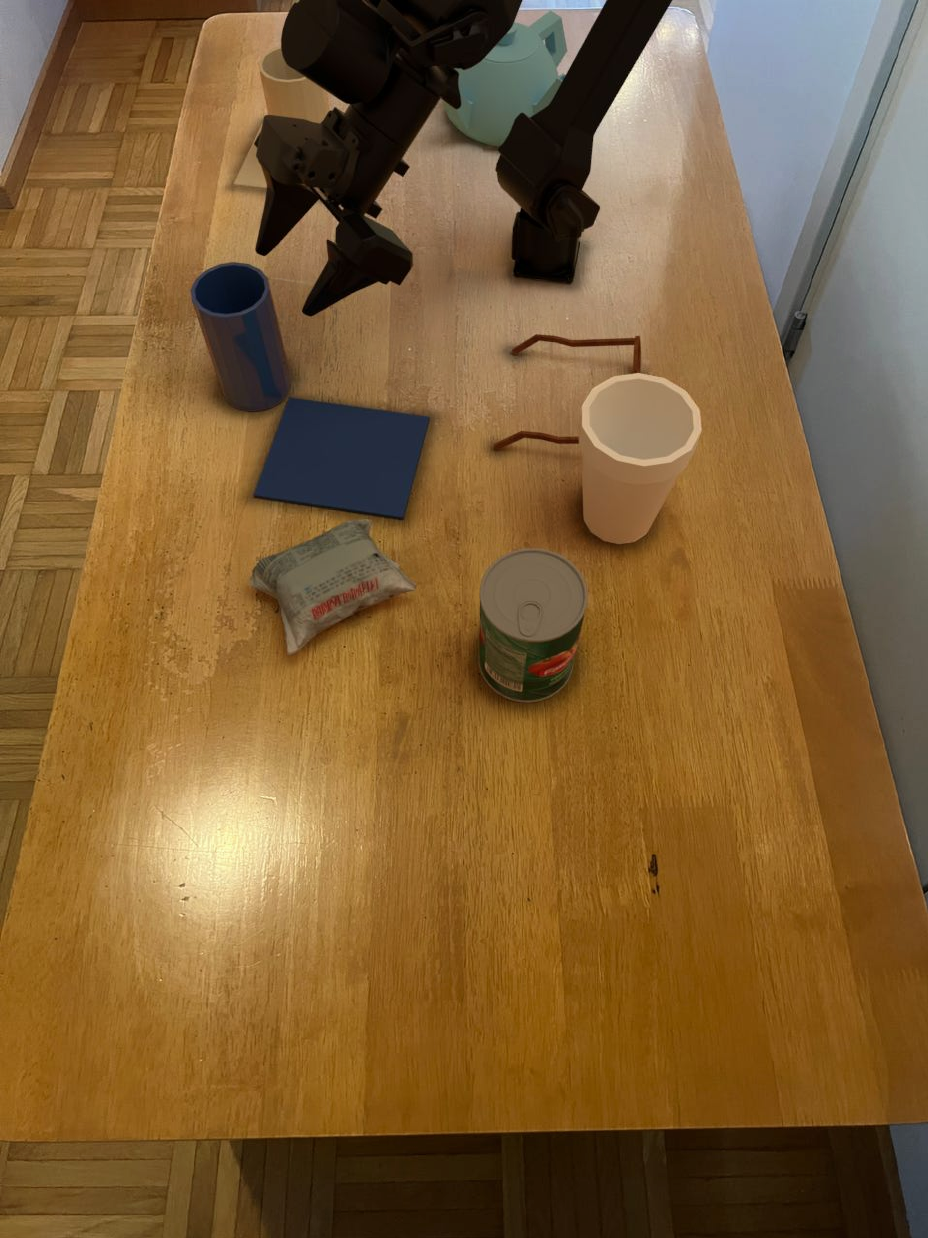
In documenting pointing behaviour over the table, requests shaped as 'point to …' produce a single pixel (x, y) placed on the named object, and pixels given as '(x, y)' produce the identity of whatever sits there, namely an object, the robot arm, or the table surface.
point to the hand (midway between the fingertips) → (282, 283)
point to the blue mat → (343, 458)
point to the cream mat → (251, 169)
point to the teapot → (510, 80)
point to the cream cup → (290, 90)
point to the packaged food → (328, 580)
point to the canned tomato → (530, 623)
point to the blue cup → (242, 335)
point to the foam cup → (633, 452)
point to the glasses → (571, 343)
